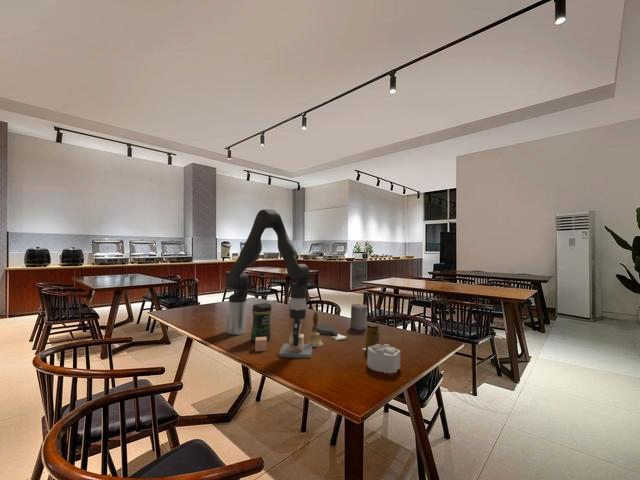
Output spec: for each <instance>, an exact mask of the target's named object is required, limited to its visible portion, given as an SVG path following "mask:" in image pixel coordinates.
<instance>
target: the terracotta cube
mask: <svg viewBox="0 0 640 480" xmlns="http://www.w3.org/2000/svg"><path fill="white" fill-rule="evenodd" d="M254 342H255V346H254V350H255V352H266V351H267V348H268V347H267V346H268V343H267V342H268V340H267V338H266V337H256V339H255V341H254Z"/></svg>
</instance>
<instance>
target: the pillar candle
mask: <svg viewBox="0 0 640 480" xmlns="http://www.w3.org/2000/svg"><path fill="white" fill-rule="evenodd" d="M350 309H351V310H350V326H349V327H350V329H351V328H352V329H351V330H354V329H355V330H356V331H364V330H365V331H366V329H367V326H368V324H367V323H368V321H367V320H368V319H367V317H368V316H367V315H368V305H366V304H363V303H354V304H351V308H350ZM355 330H354V331H355Z"/></svg>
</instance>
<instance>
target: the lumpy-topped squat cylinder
mask: <svg viewBox="0 0 640 480" xmlns="http://www.w3.org/2000/svg"><path fill="white" fill-rule="evenodd" d="M366 360H367V361H366V362H367V363H366V366H367V368H369V369H370V370H372V371H374V370H375V371H374V372H378V371H379V373H381V372H384V373H383V374H386V373H389V374H388V375H391V374H390V373H396V372H398V371H399V370H398V369H401V350H400V349H398V348H396V347H392V346H391V345H390V344H387V343H385V344H376V345H374V346H370V347H368V352H367V359H366ZM397 370H398V371H397ZM396 374H397V373H396Z"/></svg>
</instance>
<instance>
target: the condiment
mask: <svg viewBox="0 0 640 480" xmlns="http://www.w3.org/2000/svg"><path fill="white" fill-rule="evenodd" d="M366 329H367V330H365V331H366V333H365V334H366V335H365V337H366V338H365V347H362V348H361V349H362V350H363V351H365V352H367V353H368V347H370V346H374V345H376V344H379V343H380V330H379V325H378V324H376V323H368V324H367V325H366Z"/></svg>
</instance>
